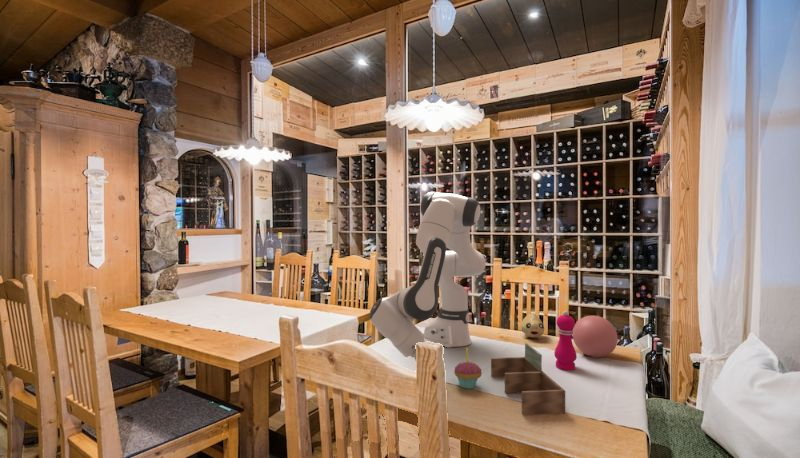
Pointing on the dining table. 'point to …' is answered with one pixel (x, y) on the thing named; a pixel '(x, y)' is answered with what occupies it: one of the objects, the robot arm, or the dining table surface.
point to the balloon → (595, 336)
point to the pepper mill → (565, 343)
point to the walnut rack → (530, 382)
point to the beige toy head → (532, 326)
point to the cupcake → (467, 373)
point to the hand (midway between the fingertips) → (442, 372)
